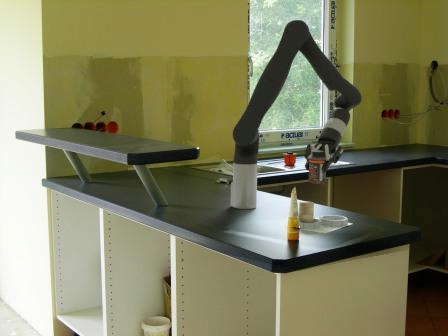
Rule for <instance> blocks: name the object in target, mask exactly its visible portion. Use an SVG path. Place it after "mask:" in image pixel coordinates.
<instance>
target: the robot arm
mask: <svg viewBox="0 0 448 336" xmlns="http://www.w3.org/2000/svg"><path fill="white" fill-rule="evenodd" d="M280 37H281V38H280V40H279V42H278V46H277V48H276V50H275V52H274V54H273V55H272V56H271V58H270V59H269V60H268V63H267V64H266V66H265V68H264V70H263V71H262V73H261V75H260V77H259V78H258V80H257V83H256V84H255V87H254V90H253V92H252V94H251V97H250V98H249V102H248V103H247V104H248V105H246V106H247V107H246V108H245V110H244V112H243V114H242V115H241V117H240V118H239V120H238V121H237V123H236V124H235V126H234V127H233V129H232V139H233V141H234V144H235V145H234V154H233V159H232V161H233V162H232V164H233V170H232V173H233V175H232V181H231V182H230V207H232V208H234V209H241V210H247V209H248V210H249V209H255V208H257V198H258V197H257V196H258V195H257V193H258V192H257V191H258V158H259V147H260V146H259V144H260V130H259V128H260V126H261V124H262V121H263V119H264V117H265V116H266V114H267V112H268V111H269V110H270V108H271V107H272V106H273V104H274V103H275V101H276V100H277V98H279V95H280V93H281V92H282V90H283V87H284V86H285V84H286V82H287V78H288V76H289V73H290V71H291V68H292V65H293V62H294V60H295V58H296V56H297V55H298V53H299V52H300V53H301V54H302V55H303V56H304V58H305V59H306V60H307V62H308V63H309V65H310V66H311V68H312V69H313V71H314V72H315V74H316V75H317V77H318V79H320V80H321V82H322V83H323V84H324V86H325V87H326V89H327V90H329V91H330V92H334V91H337V92H338V93H339V95H337V96H336V98H335V99H334V101H333V104H332V110H331V113H330V116H329V118H328V119H327V120H326V123H325V124H324V126H323V129H322V130H321V132H320V134H319V136H318V139H317V142H316V143H315V144H314V145H312V144H311V143H308V144H307V146H306V148H305V150H304V151H305V152H304V153H303V154H304V155H303V157H304V158H305V161H306V162H305V164H304V168H305V170H306V171H308V172H309V158H310V157H311V156H312V151H314V150H320V151H324V157H325V158H326V161H325V162H324V164H323V166H322V171H323V172H326V173H327V172H328V171H329V168H330V166H331V165H332V164H338V161H339V160H340V158H341V157H342V156H343V154H344V149H343V147H342V146H339V145H340V144H341V140H342V139H343V136H344V134H345V132H346V128H347V127H348V124H349V122H350V120H351V113H350V111H351V110H352V109H355V108H356V107H358V106H359V105H361V103H362V101H363V99H362V98H363V97H362V94H361V91H360V90H359V89H358V88H357V87H356V86H355V85H354V84H352V83H351V81H349V80H348V79H346V78H344V76H343V75H342V74H341V73H340V71H339V69H338V68H337V67H336V66H335V64H334V63H333V62H332V61H331V60H330V59H329V58H328V57H327V56H326V54H325V53H324V52H323V51H322V49H321V48H320V46H319V45H318V44H317V43H316V41H315V39H314V37H313V35H312V34H311V31H310V28H309V25H308V24H307V23H306V21H304V20H302V19H299V18H298V19H297V18H296V19H292V20H290V21H289V22H287V23H286V25H285V27H284V30H283V32H282V35H281V36H280Z"/></svg>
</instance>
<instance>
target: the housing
mask: <svg viewBox="0 0 448 336" xmlns="http://www.w3.org/2000/svg"><path fill="white" fill-rule="evenodd" d="M351 225H354V224H353V223H351V222H349V219H348V217H346V216H345V215H344V216H343V215H336V214H325V215H321V216H318V217H314V216H313V223H302V222H299V226H300V229H299V230H304V231H309V232H315V233H321V234H328V233H331V232H333V231H337V230H339V229H342V228H345V227H348V226H351ZM287 226H288V225H285V227H286V228H288V227H287Z"/></svg>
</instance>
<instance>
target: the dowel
mask: <svg viewBox="0 0 448 336" xmlns="http://www.w3.org/2000/svg"><path fill="white" fill-rule="evenodd" d="M314 208H315V203H314V202H313V201H308V200H304V201H303V200H302V201H299V203H298V217H299V222H302V223H313V218H314V216H315V215H314V210H315V209H314Z"/></svg>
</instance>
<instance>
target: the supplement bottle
mask: <svg viewBox="0 0 448 336" xmlns="http://www.w3.org/2000/svg"><path fill="white" fill-rule="evenodd" d="M325 161H326V157H324V151H320V150H314V151H312V156H311V157H310V158H309V171H308V182H309V184H314V185H324V184H326V183H327V182H326V181H327V171H326V172H323V171H322V166H323V164H324V162H325Z"/></svg>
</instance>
